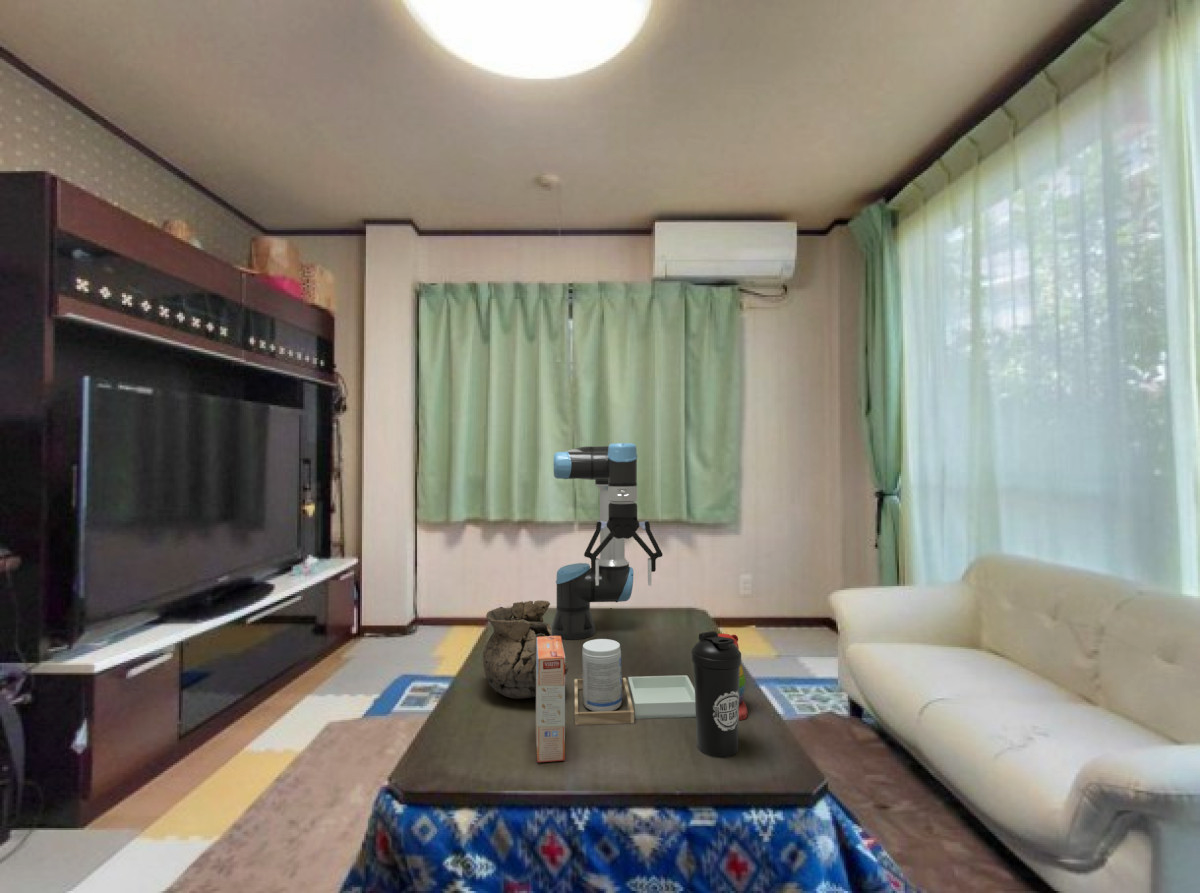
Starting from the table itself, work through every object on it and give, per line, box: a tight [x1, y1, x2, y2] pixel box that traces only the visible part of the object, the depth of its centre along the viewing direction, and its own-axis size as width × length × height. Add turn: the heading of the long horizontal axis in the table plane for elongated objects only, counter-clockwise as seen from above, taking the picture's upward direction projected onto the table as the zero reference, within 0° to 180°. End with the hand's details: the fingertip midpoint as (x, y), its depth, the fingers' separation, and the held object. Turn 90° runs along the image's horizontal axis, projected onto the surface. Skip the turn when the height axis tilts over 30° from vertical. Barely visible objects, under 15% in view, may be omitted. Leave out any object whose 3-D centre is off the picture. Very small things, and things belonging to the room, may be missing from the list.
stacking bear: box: [717, 632, 748, 721], centre depth 132 cm, size 11×10×18 cm
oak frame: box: [573, 677, 635, 726], centre depth 134 cm, size 20×14×2 cm
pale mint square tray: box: [627, 674, 696, 720], centre depth 135 cm, size 16×16×4 cm
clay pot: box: [482, 599, 569, 700], centre depth 142 cm, size 25×24×22 cm
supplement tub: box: [581, 638, 623, 712], centre depth 134 cm, size 10×10×15 cm
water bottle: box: [691, 630, 742, 759], centre depth 115 cm, size 10×10×23 cm
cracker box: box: [535, 635, 566, 763], centre depth 116 cm, size 14×6×21 cm, turn 7°
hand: (623, 584), depth 142 cm, fingers open, 13 cm apart
